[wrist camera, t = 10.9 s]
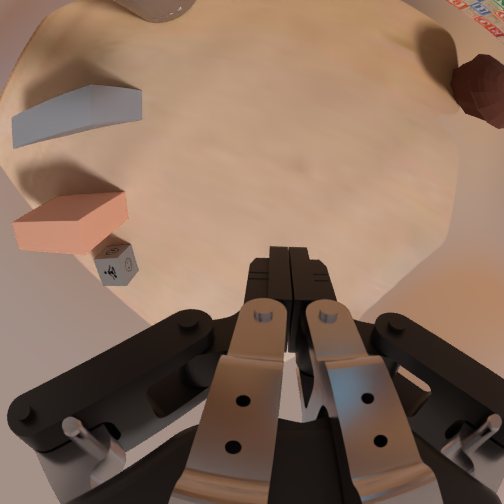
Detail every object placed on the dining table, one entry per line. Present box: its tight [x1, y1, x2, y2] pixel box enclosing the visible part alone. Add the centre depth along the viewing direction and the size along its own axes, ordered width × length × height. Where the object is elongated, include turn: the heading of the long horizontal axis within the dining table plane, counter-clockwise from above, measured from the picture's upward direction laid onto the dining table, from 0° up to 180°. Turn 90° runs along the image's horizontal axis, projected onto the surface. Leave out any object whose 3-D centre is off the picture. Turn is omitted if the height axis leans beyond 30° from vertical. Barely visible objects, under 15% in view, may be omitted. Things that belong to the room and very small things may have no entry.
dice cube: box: [94, 244, 139, 286], centre depth 42 cm, size 5×5×5 cm
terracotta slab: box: [12, 192, 129, 255], centre depth 34 cm, size 15×4×12 cm, turn 89°
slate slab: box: [12, 84, 142, 149], centre depth 27 cm, size 15×4×12 cm, turn 90°
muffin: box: [451, 54, 504, 129], centre depth 21 cm, size 12×11×10 cm
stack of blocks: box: [446, 0, 504, 44], centre depth 12 cm, size 21×6×12 cm, turn 79°
